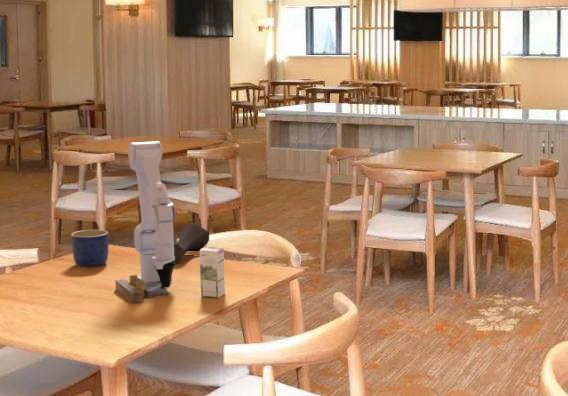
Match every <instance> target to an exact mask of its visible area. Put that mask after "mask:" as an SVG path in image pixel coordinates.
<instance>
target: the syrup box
mask: <svg viewBox="0 0 568 396" xmlns="http://www.w3.org/2000/svg"><path fill="white" fill-rule="evenodd" d="M224 250H225V248H224V247H222V246H207V245H206V246H204V247H203V248H202V249H199V268H200V269H199V270H200V272H199V275H200V296H201V297H202V298H203V297H204V298H212V299H213V298H215V299H216V298H217V299H219V298H221V297H222V296H224V295H226V285H225V284H226V283H225V282H226V281H225V280H226V279H225V251H224Z"/></svg>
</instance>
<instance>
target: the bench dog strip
mask: <svg viewBox="0 0 568 396" xmlns="http://www.w3.org/2000/svg"><path fill="white" fill-rule="evenodd" d="M137 276H138V275H136V274H131V275H129V281H128V280H127V279H125V278H121V279H115V283H114V284H115V290H116V291H117V292H118V293H120V294H121V295H122V296H123V297H124V298H125V299H126V300H128V301H129V302H130V303H131V304H136V303H137V304H140V303H142V302H143V299H144V298H146V296H145V286H144V280H139V279H138V278H137Z"/></svg>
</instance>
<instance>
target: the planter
mask: <svg viewBox="0 0 568 396" xmlns="http://www.w3.org/2000/svg"><path fill="white" fill-rule="evenodd" d="M70 235H71V236H70V238H71V250H72V256H73V260H74V263H75V264H76V265H77V266H79V267H83V266H84V268H91V267H92V266H94V267H99V265H100V266H102V265H104V264H106V263H107V261H108V259H109V232H108V231H106V230H103V229H86V230H85V229H84V230H79V231H74V232H72V233H71V234H70Z"/></svg>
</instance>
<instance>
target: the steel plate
mask: <svg viewBox="0 0 568 396" xmlns="http://www.w3.org/2000/svg"><path fill="white" fill-rule="evenodd" d="M144 286H145V298H157V297H162V296H163V297H164V296H167V295H168V289H167V288H165V287H163V286H162V285H161V283H158V281H156V282H148V283H144Z"/></svg>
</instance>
